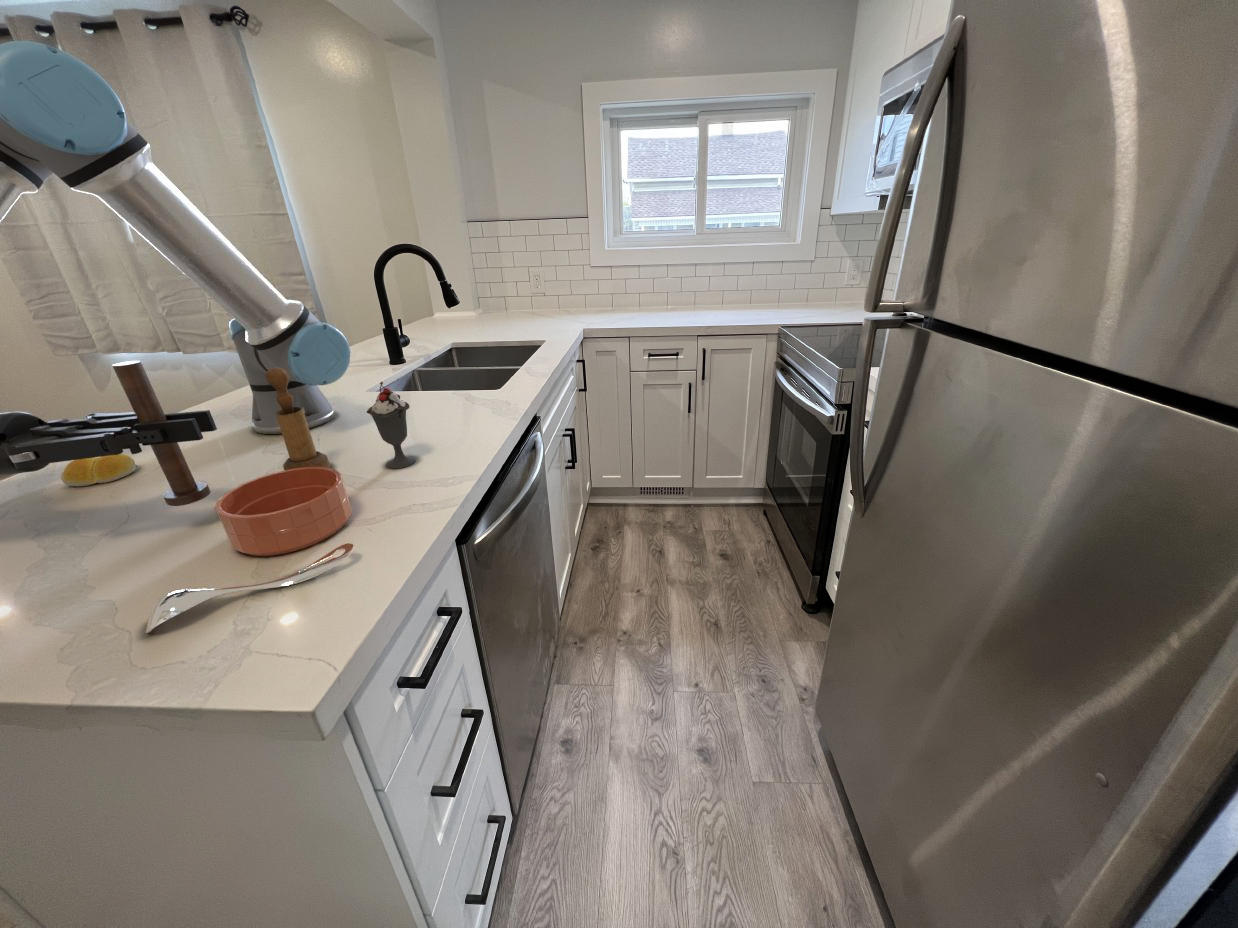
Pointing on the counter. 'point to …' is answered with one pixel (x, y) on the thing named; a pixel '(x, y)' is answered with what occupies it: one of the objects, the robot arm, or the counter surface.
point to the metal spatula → (236, 589)
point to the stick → (166, 454)
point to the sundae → (392, 424)
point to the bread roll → (97, 470)
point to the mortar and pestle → (294, 426)
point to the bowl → (284, 510)
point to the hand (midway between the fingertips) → (204, 424)
